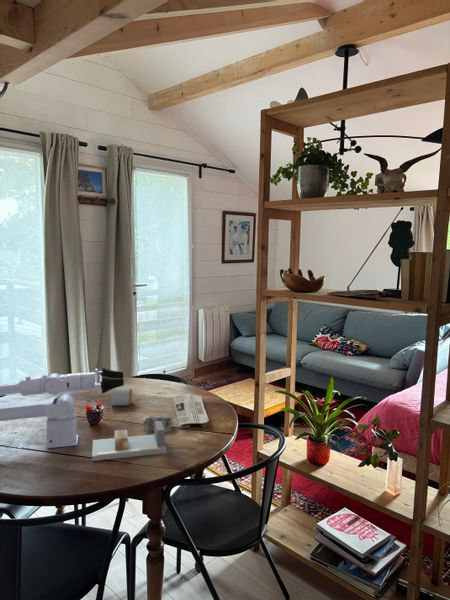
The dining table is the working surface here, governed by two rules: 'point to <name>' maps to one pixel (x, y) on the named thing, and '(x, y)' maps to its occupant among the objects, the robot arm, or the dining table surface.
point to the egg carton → (150, 420)
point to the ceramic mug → (121, 396)
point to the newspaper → (190, 410)
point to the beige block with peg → (121, 439)
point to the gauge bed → (131, 445)
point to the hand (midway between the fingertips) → (123, 378)
